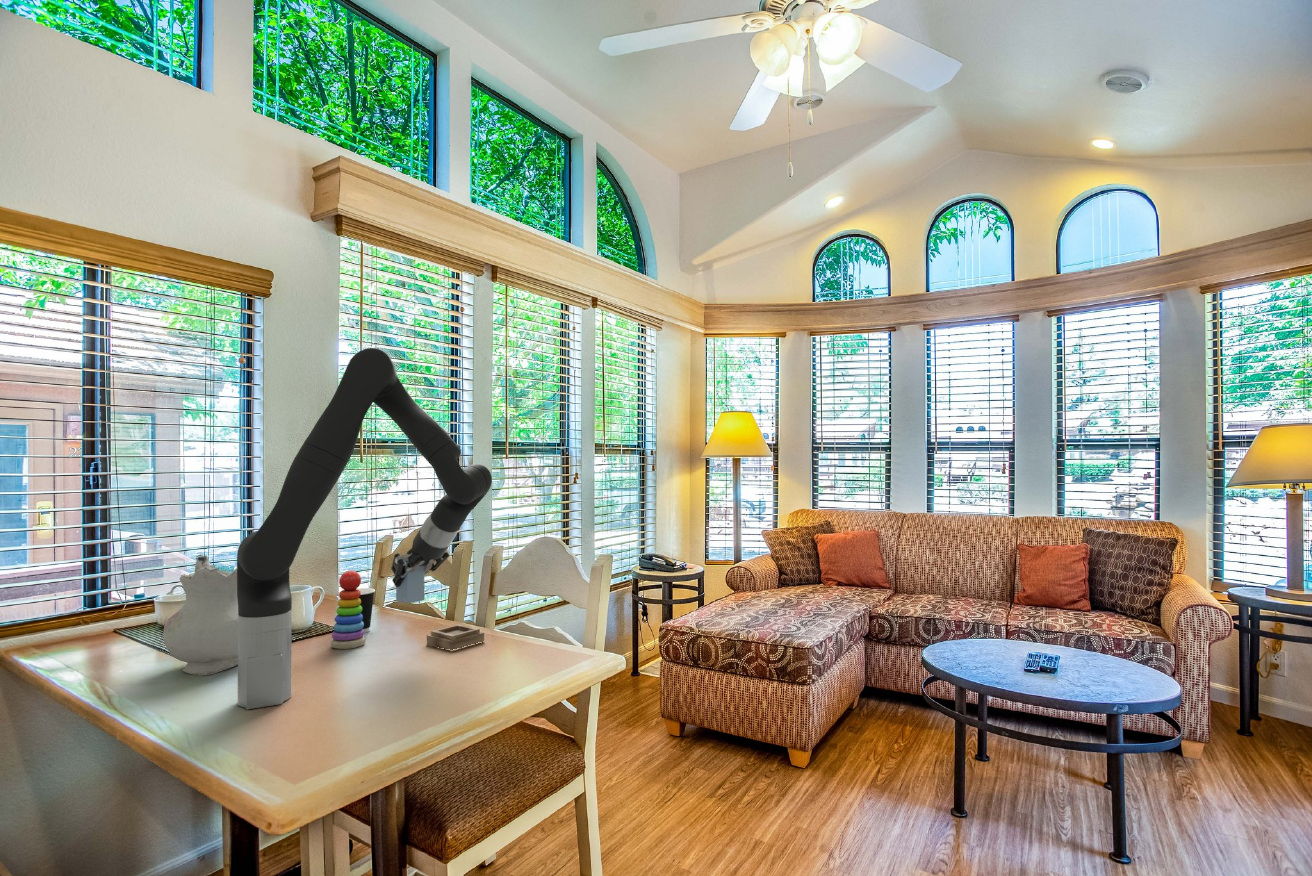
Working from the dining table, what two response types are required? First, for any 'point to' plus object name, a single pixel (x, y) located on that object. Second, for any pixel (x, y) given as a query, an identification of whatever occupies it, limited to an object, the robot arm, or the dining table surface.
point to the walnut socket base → (455, 637)
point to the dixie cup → (366, 606)
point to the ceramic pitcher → (205, 621)
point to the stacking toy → (348, 614)
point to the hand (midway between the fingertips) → (405, 582)
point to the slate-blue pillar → (411, 587)
